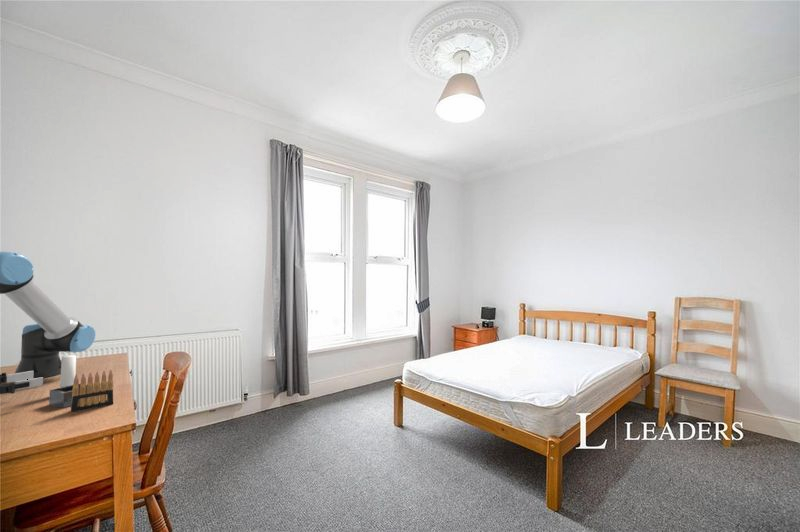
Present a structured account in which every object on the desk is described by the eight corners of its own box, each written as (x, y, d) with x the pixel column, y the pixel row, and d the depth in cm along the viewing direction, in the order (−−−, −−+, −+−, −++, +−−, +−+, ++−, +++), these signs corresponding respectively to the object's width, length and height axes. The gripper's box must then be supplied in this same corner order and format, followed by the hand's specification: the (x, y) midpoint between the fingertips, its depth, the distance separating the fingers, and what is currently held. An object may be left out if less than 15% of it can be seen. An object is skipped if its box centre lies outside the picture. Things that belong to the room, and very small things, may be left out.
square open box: (49, 404, 117) (49, 390, 118) (77, 397, 125) (78, 383, 125) (63, 408, 115) (64, 393, 115) (91, 400, 122) (92, 386, 123)
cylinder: (57, 394, 127) (59, 357, 128) (70, 391, 131) (72, 354, 132) (63, 396, 126) (65, 358, 127) (77, 392, 130) (78, 355, 130)
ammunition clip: (70, 412, 112) (72, 375, 112) (70, 410, 113) (72, 374, 113) (113, 404, 119) (114, 369, 120) (112, 402, 120) (114, 368, 121)
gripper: (-66, 398, 111) (29, 381, 129) (-59, 416, 97) (46, 395, 115) (-65, 375, 111) (30, 362, 129) (-58, 389, 98) (47, 373, 115)
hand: (38, 377), depth 122 cm, fingers open, 13 cm apart
